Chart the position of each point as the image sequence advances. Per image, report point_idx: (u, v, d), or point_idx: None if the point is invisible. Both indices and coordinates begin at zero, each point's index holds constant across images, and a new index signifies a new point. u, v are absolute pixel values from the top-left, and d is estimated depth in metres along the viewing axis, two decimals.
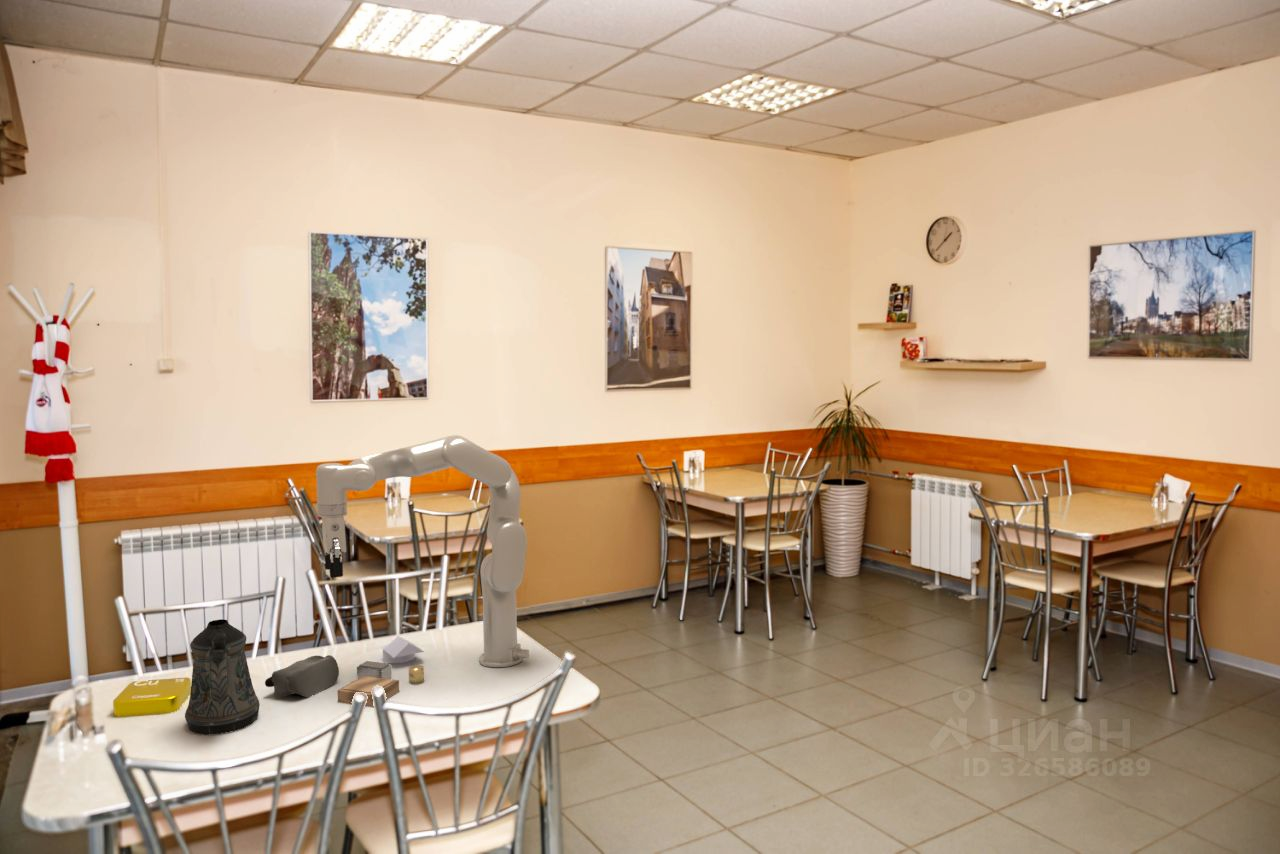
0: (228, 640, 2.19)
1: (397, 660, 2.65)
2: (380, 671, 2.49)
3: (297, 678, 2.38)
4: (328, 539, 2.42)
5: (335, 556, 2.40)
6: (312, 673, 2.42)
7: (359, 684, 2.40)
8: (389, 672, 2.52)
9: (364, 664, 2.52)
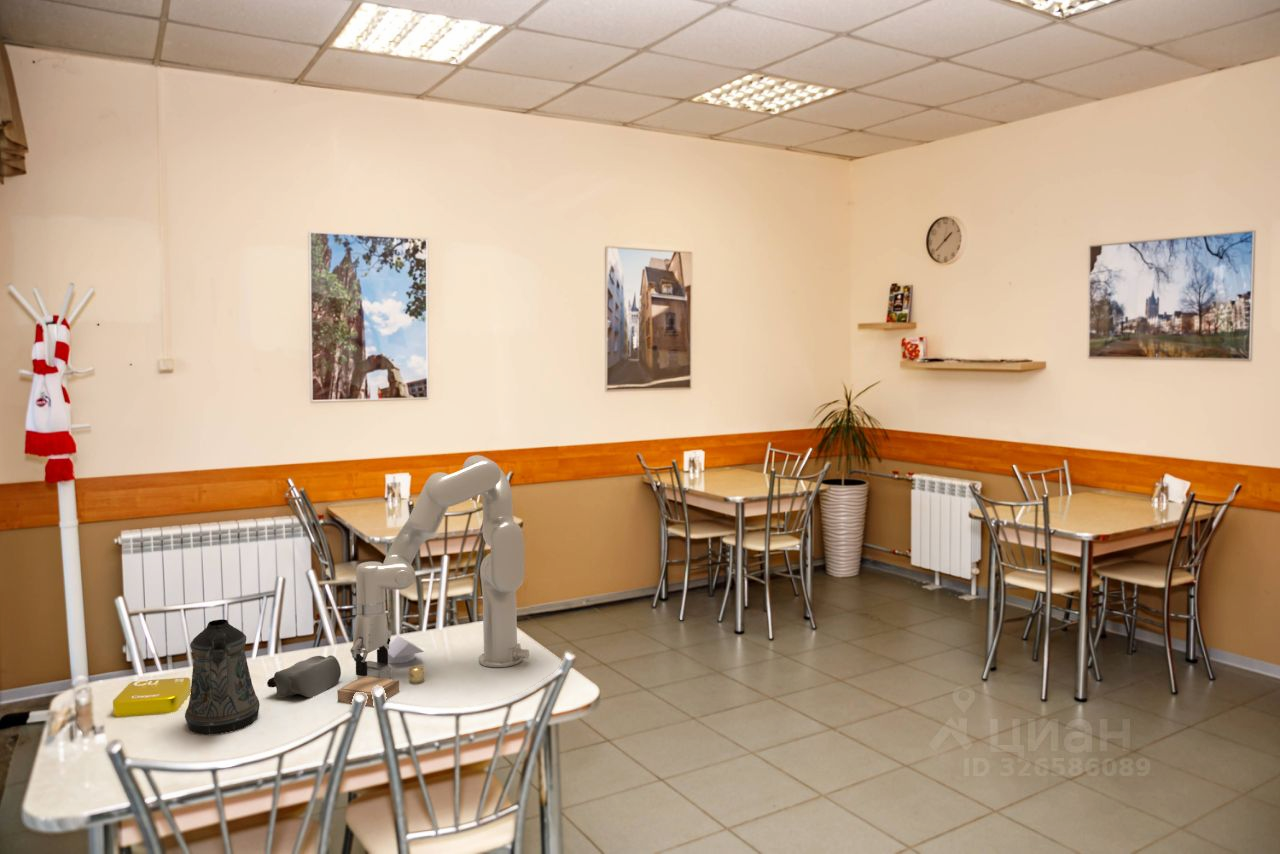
0: (228, 640, 2.19)
1: (397, 660, 2.65)
2: (379, 671, 2.49)
3: (300, 678, 2.37)
4: None
5: None
6: (314, 673, 2.42)
7: (359, 684, 2.40)
8: (389, 672, 2.52)
9: None
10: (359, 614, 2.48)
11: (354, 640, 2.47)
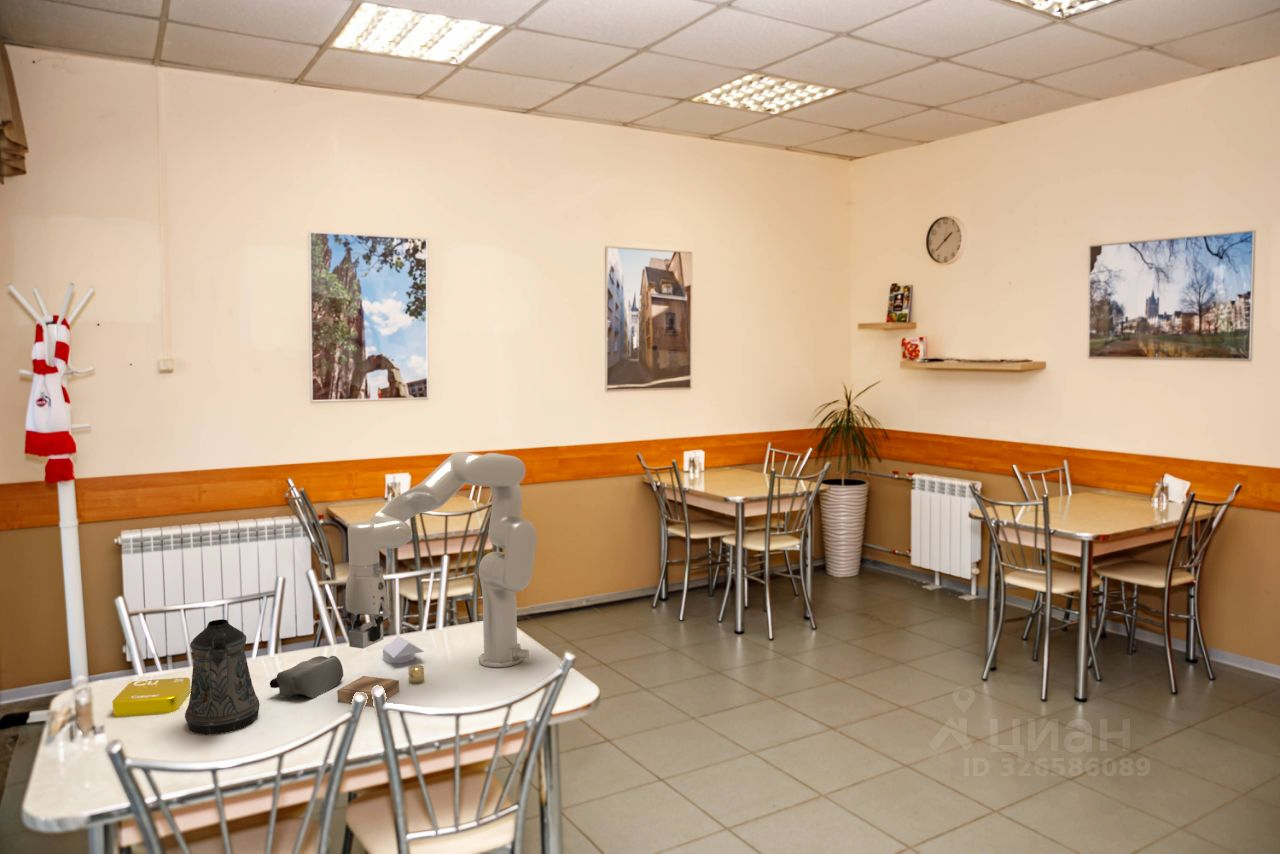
0: (228, 640, 2.19)
1: (397, 660, 2.66)
2: None
3: (303, 678, 2.37)
4: (377, 599, 2.35)
5: (383, 618, 2.37)
6: (317, 674, 2.41)
7: (359, 684, 2.40)
8: (360, 639, 2.35)
9: (369, 623, 2.41)
10: None
11: None
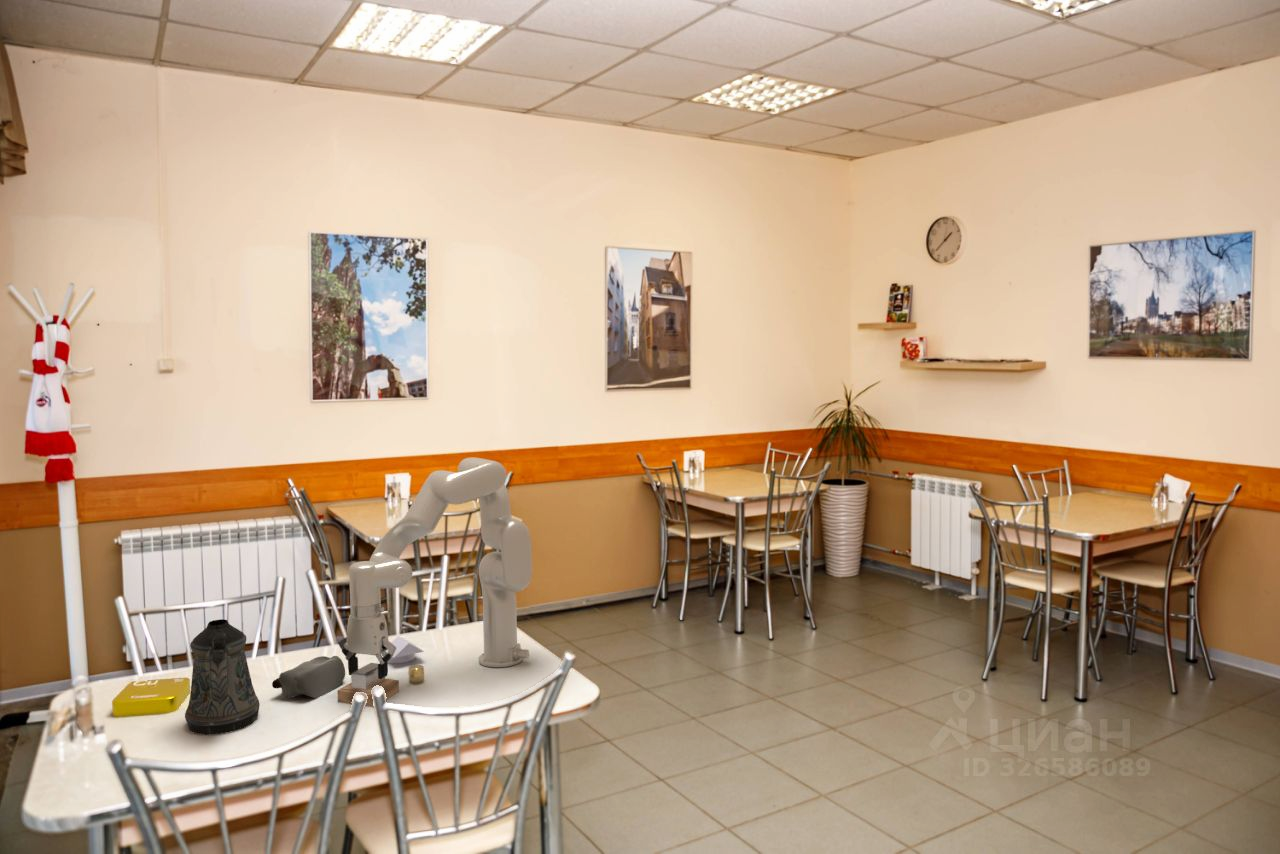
0: (228, 640, 2.19)
1: (397, 660, 2.66)
2: None
3: (306, 678, 2.37)
4: (378, 640, 2.36)
5: (390, 655, 2.36)
6: (319, 674, 2.41)
7: None
8: (362, 682, 2.36)
9: (371, 664, 2.42)
10: None
11: None
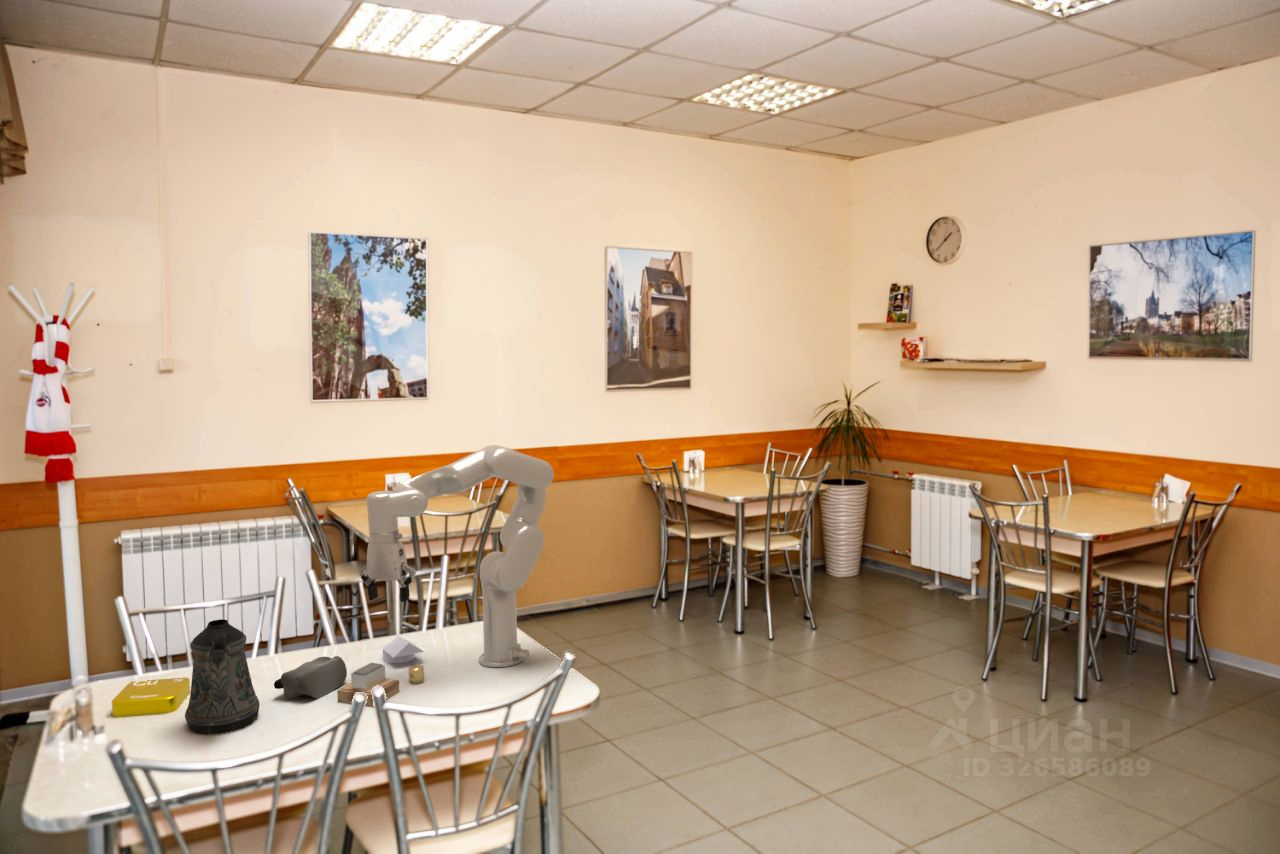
0: (228, 640, 2.19)
1: (397, 660, 2.66)
2: None
3: (308, 679, 2.37)
4: (398, 565, 2.45)
5: (411, 579, 2.45)
6: (321, 674, 2.41)
7: None
8: (362, 682, 2.36)
9: (371, 664, 2.42)
10: None
11: None
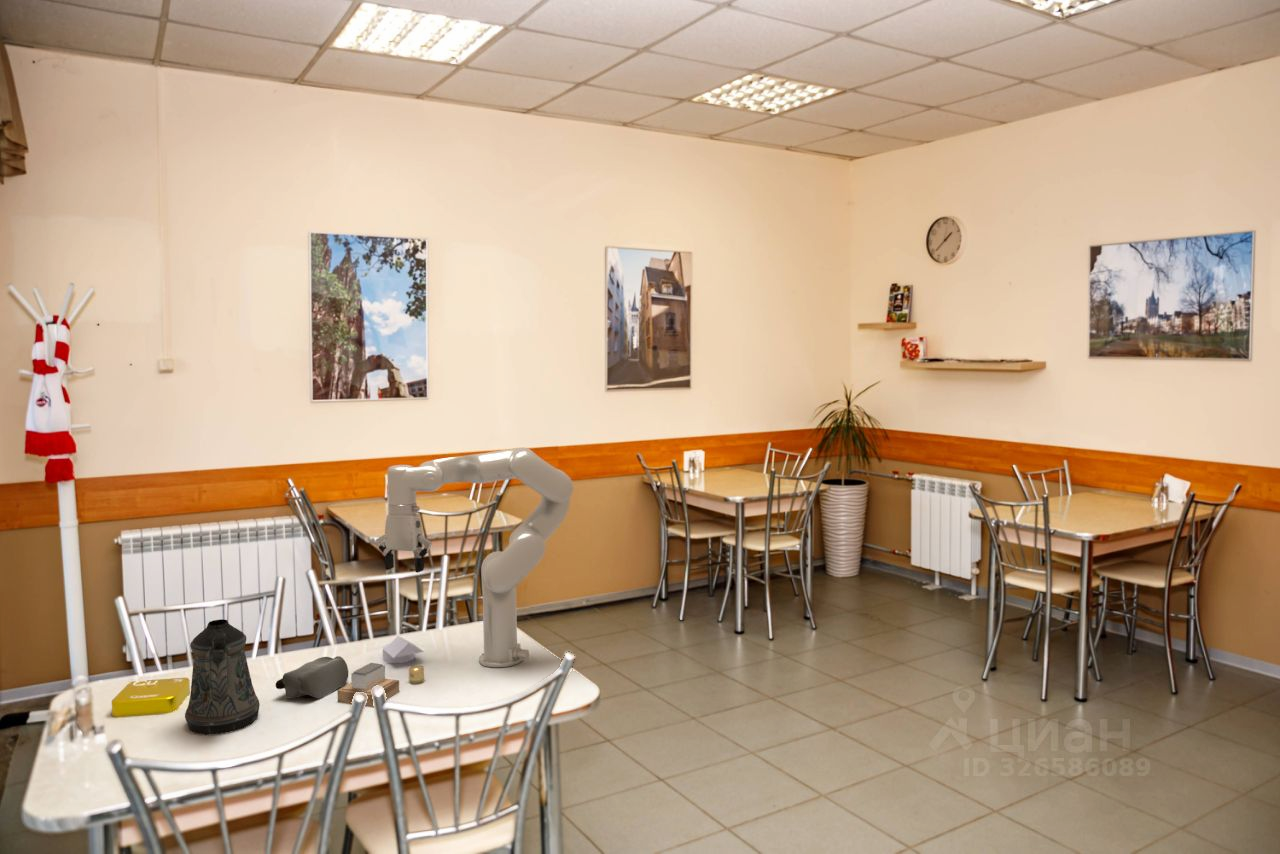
0: (228, 640, 2.19)
1: (397, 660, 2.66)
2: None
3: (309, 679, 2.36)
4: (414, 536, 2.54)
5: (426, 550, 2.55)
6: (323, 674, 2.41)
7: None
8: (362, 682, 2.36)
9: (371, 664, 2.42)
10: None
11: None
